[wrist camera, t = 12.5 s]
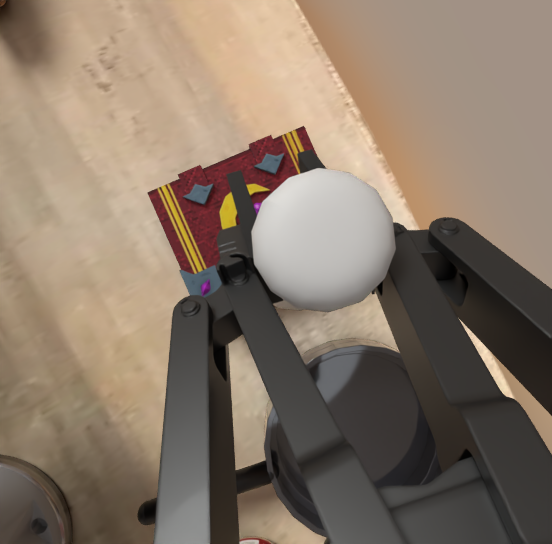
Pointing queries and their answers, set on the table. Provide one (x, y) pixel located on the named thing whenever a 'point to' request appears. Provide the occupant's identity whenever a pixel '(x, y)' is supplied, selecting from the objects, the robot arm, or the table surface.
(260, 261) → the salt shaker
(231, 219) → the decorative book
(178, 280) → the table surface
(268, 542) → the soda can
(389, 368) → the pan
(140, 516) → the pan handle
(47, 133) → the table surface
